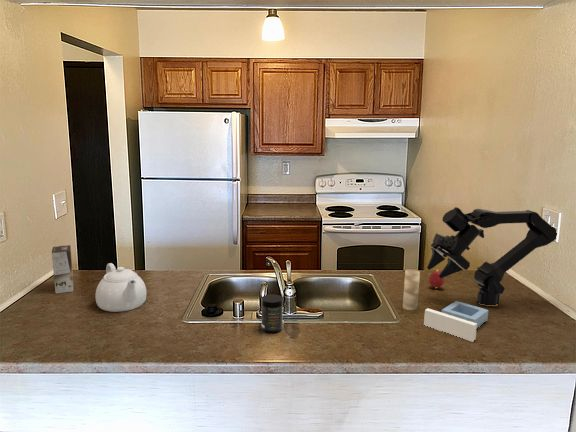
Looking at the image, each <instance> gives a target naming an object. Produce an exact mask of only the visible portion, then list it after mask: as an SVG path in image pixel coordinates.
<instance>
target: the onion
mask: <svg viewBox="0 0 576 432" xmlns="http://www.w3.org/2000/svg"><path fill="white" fill-rule="evenodd" d="M440 273H441V272H440V270H439V269H436V270H435V271H434V272H432V273H431V274H430V275H429V277H428V283H429V285H430V286H431V287H432V286H433V287H439V288H440V287H442V286H443V285H444V283H445V277H444V278H439V275H440ZM433 287H432V288H433Z"/></svg>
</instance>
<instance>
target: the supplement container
mask: <svg viewBox="0 0 576 432" xmlns="http://www.w3.org/2000/svg"><path fill="white" fill-rule="evenodd" d="M260 304H261V330H262V331H263V332H265V333H268V334H277V333H280V332H281V331H282V330H283V317H284V316H283V309H284V306H283V305H284V297H283V296H281V295H279V294H271V293H270V294H266V295H263V296H261V303H260Z"/></svg>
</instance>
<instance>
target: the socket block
mask: <svg viewBox="0 0 576 432" xmlns="http://www.w3.org/2000/svg"><path fill="white" fill-rule="evenodd" d="M441 312H442V313H445V314H448V315H451V316H455V317H458V318H461V319H464V320H467V321H471V322H474V323H477V328H478V327H479V328H481V327H482V326H483V325H484V324H483V323H484V322H486V321H487V322H488V318H489V309H487V308H482V307H479V306H476V305H472V304H468V303H465V302H462V301H458V300H455V301H454V302H452V303H450V304H449V305H447V306H445V307H444V308H442V309H441ZM487 322H486V323H487ZM482 324H483V325H482ZM481 325H482V326H481ZM480 326H481V327H480ZM479 328H478V329H479Z"/></svg>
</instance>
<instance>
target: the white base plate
mask: <svg viewBox="0 0 576 432" xmlns="http://www.w3.org/2000/svg"><path fill="white" fill-rule="evenodd" d="M424 325H425V326H424ZM423 326H424V327H427V326H428V327H427V328H430V327H431V329H433V328H434V329H433V330H437V331H439V332H442V331H443V332H442V333H444V332H446V333H445V334H447V333H449V334H448V335H450V334H451V336H453V335H454V337H456V336H457V338H459V337H460V338H459V339H462V338H463V340H466V341H469V342H470V343H473V342H474V340H475V341H476V338H477V330H478V329H477V323H474V322H471V321H467V320H464V319H461V318H458V317H455V316H451V315H448V314H445V313H442V311H437V310H434V309H431V308H428V307H427V308H426V309H425V310H424V318H423ZM476 329H477V330H476Z"/></svg>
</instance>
